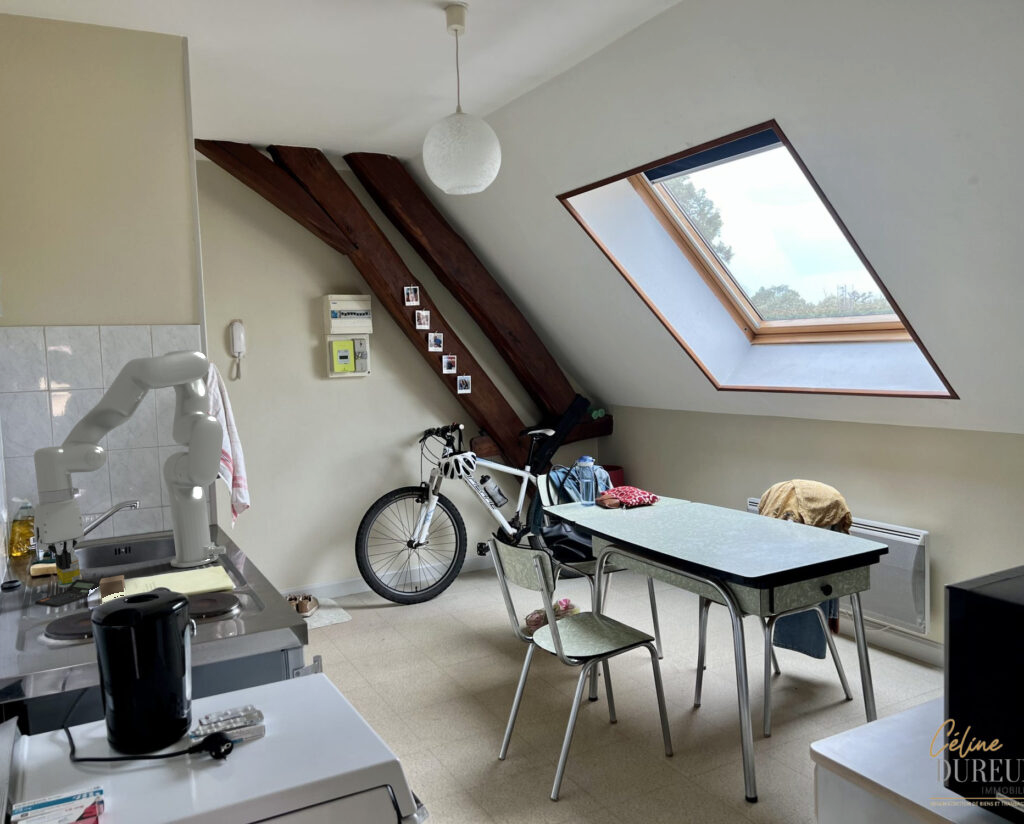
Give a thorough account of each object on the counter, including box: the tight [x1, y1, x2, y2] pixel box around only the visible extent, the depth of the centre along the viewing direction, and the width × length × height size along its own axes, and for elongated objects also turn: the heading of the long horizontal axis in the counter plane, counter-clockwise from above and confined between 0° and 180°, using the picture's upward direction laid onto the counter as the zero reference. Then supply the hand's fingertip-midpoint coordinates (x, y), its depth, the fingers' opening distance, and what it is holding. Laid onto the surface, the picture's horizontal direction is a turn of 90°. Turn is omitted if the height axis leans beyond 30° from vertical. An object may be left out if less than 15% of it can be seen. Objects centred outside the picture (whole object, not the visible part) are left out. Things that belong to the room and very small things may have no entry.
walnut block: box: [99, 574, 126, 599], centre depth 196 cm, size 5×5×5 cm
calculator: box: [34, 579, 100, 608], centre depth 199 cm, size 9×12×3 cm
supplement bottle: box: [55, 547, 82, 589], centre depth 211 cm, size 5×5×10 cm
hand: (64, 568), depth 199 cm, fingers closed
